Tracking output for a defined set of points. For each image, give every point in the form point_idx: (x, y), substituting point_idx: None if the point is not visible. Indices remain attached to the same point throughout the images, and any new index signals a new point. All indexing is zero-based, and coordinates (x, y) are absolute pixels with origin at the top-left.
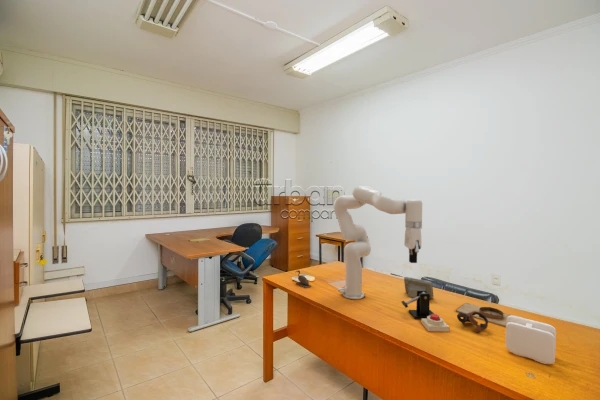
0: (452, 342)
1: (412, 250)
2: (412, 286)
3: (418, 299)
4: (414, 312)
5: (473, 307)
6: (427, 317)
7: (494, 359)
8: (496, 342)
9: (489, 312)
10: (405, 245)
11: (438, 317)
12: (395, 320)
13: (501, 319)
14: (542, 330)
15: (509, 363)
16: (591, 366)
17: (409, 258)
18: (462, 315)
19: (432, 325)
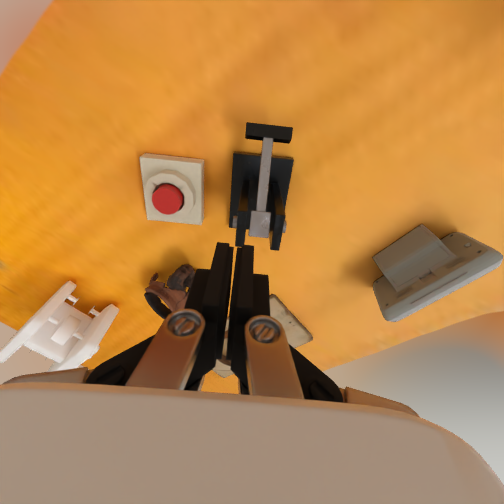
0: (88, 187)
1: (131, 382)
2: (437, 257)
3: (273, 203)
4: None
5: None
6: (174, 176)
7: (31, 235)
8: (114, 283)
9: None
10: (373, 433)
11: (154, 206)
12: (224, 59)
13: None
14: (4, 357)
15: (25, 253)
16: None
17: (240, 266)
18: (172, 278)
19: (148, 173)
